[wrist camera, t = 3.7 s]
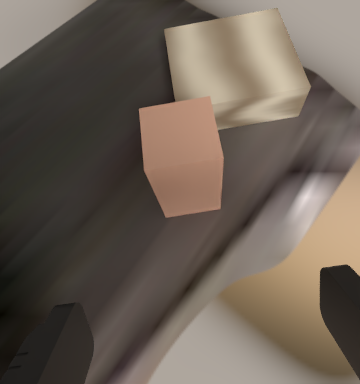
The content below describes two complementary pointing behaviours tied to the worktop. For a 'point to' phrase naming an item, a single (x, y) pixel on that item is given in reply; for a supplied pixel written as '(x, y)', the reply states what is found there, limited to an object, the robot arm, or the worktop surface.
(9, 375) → the robot arm
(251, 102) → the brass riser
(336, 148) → the worktop surface
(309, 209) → the worktop surface
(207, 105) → the terracotta block
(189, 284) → the worktop surface
